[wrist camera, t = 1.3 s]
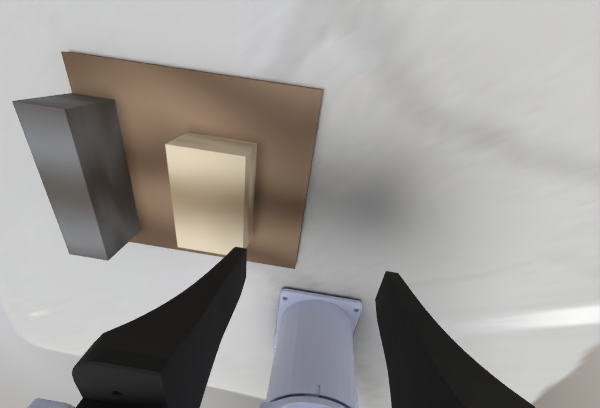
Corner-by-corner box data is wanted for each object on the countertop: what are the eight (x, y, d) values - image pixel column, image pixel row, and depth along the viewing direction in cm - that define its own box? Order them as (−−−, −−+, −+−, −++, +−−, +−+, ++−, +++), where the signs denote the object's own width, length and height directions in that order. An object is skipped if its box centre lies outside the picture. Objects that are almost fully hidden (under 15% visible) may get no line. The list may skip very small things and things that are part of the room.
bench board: (295, 264, 25) (288, 304, 21) (116, 235, 25) (75, 268, 21) (322, 89, 17) (321, 98, 13) (69, 51, 18) (-7, 50, 14)
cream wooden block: (252, 234, 23) (242, 257, 20) (195, 225, 23) (177, 247, 20) (257, 143, 19) (245, 156, 16) (187, 132, 19) (164, 144, 16)
